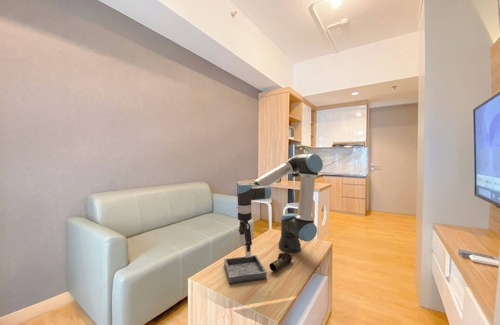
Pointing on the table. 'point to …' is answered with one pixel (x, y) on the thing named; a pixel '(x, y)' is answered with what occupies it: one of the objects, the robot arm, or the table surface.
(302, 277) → the table surface
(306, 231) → the robot arm
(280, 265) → the metal pipe
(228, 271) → the grey square tray
